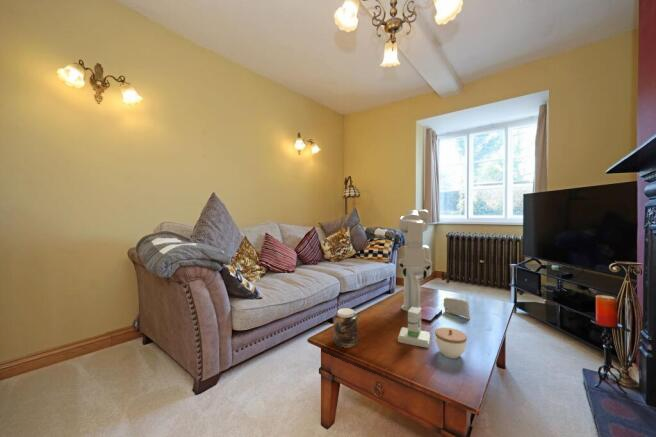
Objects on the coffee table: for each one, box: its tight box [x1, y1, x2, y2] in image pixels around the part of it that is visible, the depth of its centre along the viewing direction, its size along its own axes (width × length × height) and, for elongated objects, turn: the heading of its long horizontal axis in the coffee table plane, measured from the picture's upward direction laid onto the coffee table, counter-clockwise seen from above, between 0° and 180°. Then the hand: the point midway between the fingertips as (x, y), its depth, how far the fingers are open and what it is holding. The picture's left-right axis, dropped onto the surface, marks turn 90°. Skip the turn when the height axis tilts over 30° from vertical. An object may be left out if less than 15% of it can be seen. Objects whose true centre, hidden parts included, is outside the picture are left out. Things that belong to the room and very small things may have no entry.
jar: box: [333, 307, 359, 349], centre depth 126 cm, size 12×12×15 cm
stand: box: [397, 326, 431, 349], centre depth 128 cm, size 11×14×3 cm
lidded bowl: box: [434, 327, 468, 359], centre depth 115 cm, size 13×13×11 cm
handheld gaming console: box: [442, 297, 471, 321], centre depth 159 cm, size 11×3×15 cm
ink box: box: [407, 307, 422, 338], centre depth 128 cm, size 9×5×12 cm, turn 149°
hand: (414, 277), depth 137 cm, fingers open, 9 cm apart
